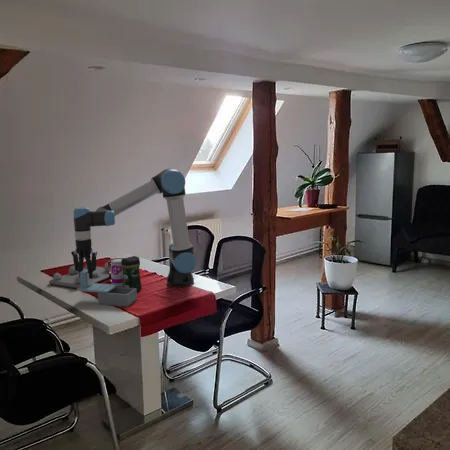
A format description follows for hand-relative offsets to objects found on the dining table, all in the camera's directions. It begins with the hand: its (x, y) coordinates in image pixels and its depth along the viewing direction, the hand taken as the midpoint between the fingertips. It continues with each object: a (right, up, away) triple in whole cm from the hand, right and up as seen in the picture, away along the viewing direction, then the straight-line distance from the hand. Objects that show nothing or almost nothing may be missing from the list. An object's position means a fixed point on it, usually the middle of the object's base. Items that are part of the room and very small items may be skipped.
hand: (86, 284), depth 227 cm
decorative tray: (-11, -2, +37) cm, 39 cm away
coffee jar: (+20, -6, +15) cm, 25 cm away
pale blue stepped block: (+6, -2, -1) cm, 6 cm away
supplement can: (+12, -4, +22) cm, 25 cm away
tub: (+17, -8, -3) cm, 19 cm away
